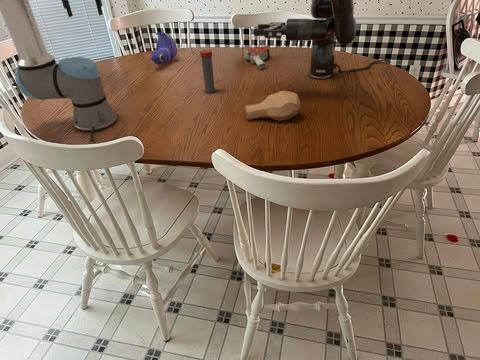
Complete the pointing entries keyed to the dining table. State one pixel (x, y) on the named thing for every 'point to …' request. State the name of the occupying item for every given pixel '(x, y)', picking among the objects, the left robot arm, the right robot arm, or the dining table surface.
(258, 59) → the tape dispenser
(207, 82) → the dark grey piece
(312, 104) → the dining table surface
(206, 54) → the lid
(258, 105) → the squash
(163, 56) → the toy
